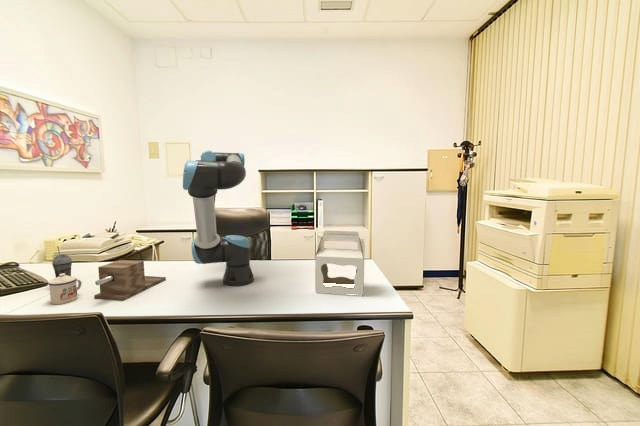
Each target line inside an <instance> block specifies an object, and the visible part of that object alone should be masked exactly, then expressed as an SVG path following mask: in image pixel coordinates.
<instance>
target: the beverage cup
mask: <svg viewBox="0 0 640 426" xmlns="http://www.w3.org/2000/svg"><path fill="white" fill-rule="evenodd" d="M56 248H57V252H58V255H56V256H55V257H54V258H53V259H52V267H53V271H54V274H55V278H56V277H59V274H62V273H65V275H68V276H72V263H73V260H72V258H71V257H70V256H69V255H67V254H61V251H60V246H59V245H57V246H56Z"/></svg>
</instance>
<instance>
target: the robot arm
mask: <svg viewBox="0 0 640 426" xmlns="http://www.w3.org/2000/svg"><path fill="white" fill-rule="evenodd" d="M245 161H246V160H245V153H242V152H241V153H240V152H217V151H215V152H214V151H211V150H205V151H203V152H201V154H200V160H187V161H186V162H185V164H184V166H183V172H182V173H183V177H182V189H183V190H184V191H185V190H186V191H187V193H188V195H189V196H190V197H192V202H193V213H194V221H195V228H196V229H195V230H196V235H197V236H195V238H194V240H192V241H191V255H192V258H193V259H192V260H193V262H194V263H195V264H197V265H206V264H217V263H220V264H221V263H225V270H224V273H223V277H222V284H223V285H225V286H229V287H239V286H240V287H241V286H246V285H248V284H251V283H253V282H254V280H255V277H254V273H253V271H252V267H251V265H250V264H251V262H250V261H251V259H250V258H251V257H250V256H251V255H250V247H251V246H250V240H249V238H248V237H247V236H244V235H237V234H231V235H226V236H225V237H224V238H221V237H220V235H219V234H218V233H217V219H216V207H215V206H216V204H215V203H216V195H217V194H218V191H219V190H228V189H232V188H234V187H237V186H239V185H240V184H242V182H243V181H244V180H245V178H246V176H247V171H246V167H245V165H246V164H245Z"/></svg>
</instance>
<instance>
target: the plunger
mask: <svg viewBox="0 0 640 426" xmlns="http://www.w3.org/2000/svg"><path fill="white" fill-rule="evenodd" d="M113 279H114V275H111V276H108V277H106V278H103V279H100V280H99V279H98V280H96V281H95V285H96V286H100V285H101V284H103V283H106V282H108V281H111V280H113Z"/></svg>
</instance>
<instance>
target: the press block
mask: <svg viewBox="0 0 640 426" xmlns="http://www.w3.org/2000/svg"><path fill="white" fill-rule="evenodd" d="M144 262H145V261H144V260H130V259H128V260H127V259H119V260H115V261H113V262H110V263H106V264H103V265H101V266H98V270H97V271H98V280H100V279H103V278H106V277H108V276H111V275H114V279H113V280H111V281H108V282H106V283H103V284H101V285H99V293H96V294H94V297H93V298H94V300H105V301H106V300H108V301H119V302H123V301H124V302H125V301H126V300H128V299H130V298H132V297H134V296H136V295H138V294H140V293H142V292H144V291H146V290H149V289H150V288H152V287H154V286H157V285H159V284H161V283H162V282H165V281H166V280H167V279H166V278H167V277H164V276H154V275H145V263H144Z"/></svg>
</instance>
